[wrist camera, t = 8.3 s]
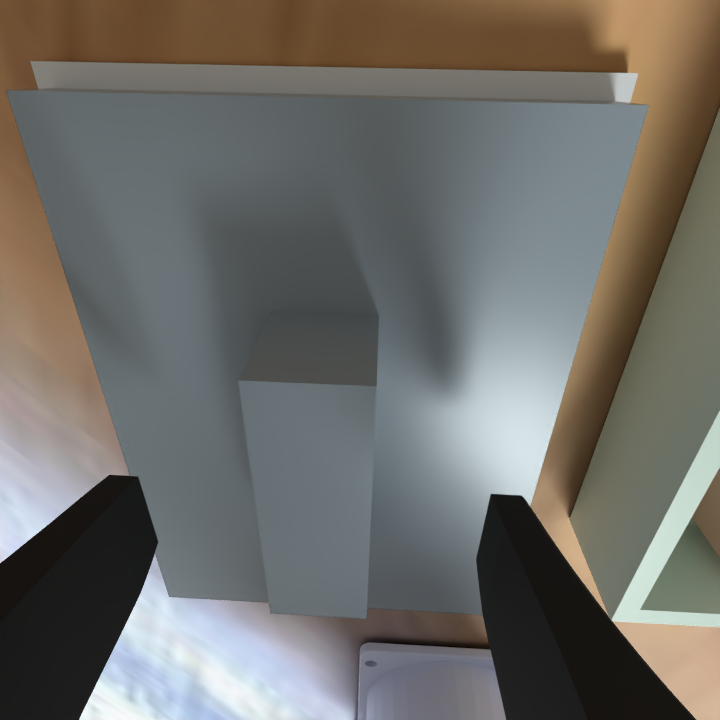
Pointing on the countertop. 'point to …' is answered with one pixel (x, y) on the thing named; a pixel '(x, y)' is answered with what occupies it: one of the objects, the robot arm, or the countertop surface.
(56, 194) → the lid
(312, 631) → the countertop surface
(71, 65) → the mat
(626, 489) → the storage box
